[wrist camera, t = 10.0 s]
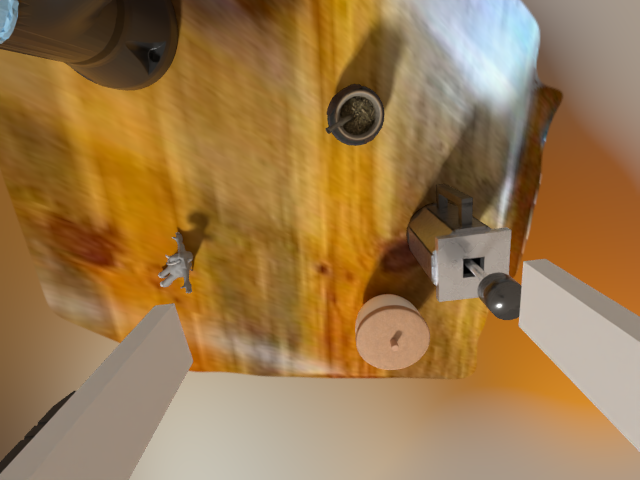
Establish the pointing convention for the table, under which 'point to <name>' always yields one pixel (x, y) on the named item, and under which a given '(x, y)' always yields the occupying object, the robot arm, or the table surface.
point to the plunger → (497, 292)
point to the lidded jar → (391, 332)
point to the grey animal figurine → (178, 266)
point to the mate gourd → (355, 115)
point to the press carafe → (456, 244)
